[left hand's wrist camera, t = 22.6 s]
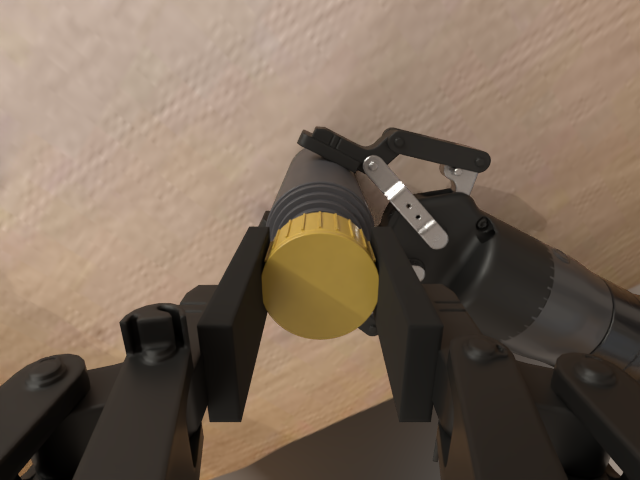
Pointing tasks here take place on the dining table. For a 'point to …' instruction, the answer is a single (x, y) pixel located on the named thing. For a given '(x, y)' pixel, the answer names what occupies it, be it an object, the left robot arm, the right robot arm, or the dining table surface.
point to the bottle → (319, 193)
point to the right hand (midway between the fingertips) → (281, 179)
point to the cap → (320, 276)
